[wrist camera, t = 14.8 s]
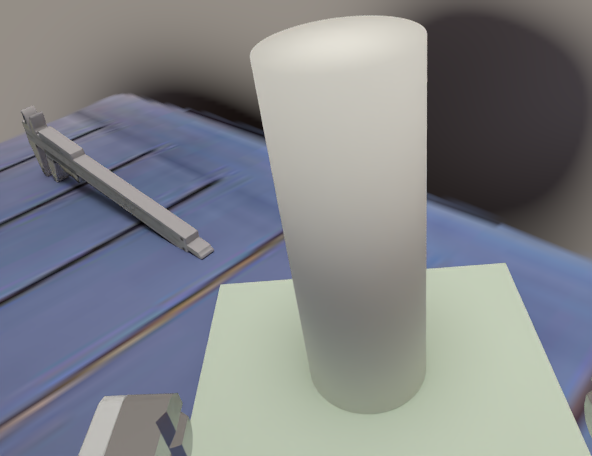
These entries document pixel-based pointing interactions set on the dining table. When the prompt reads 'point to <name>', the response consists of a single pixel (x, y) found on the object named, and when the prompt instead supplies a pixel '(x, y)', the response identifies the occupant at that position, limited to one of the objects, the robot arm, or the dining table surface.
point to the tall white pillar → (352, 198)
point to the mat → (408, 417)
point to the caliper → (106, 183)
